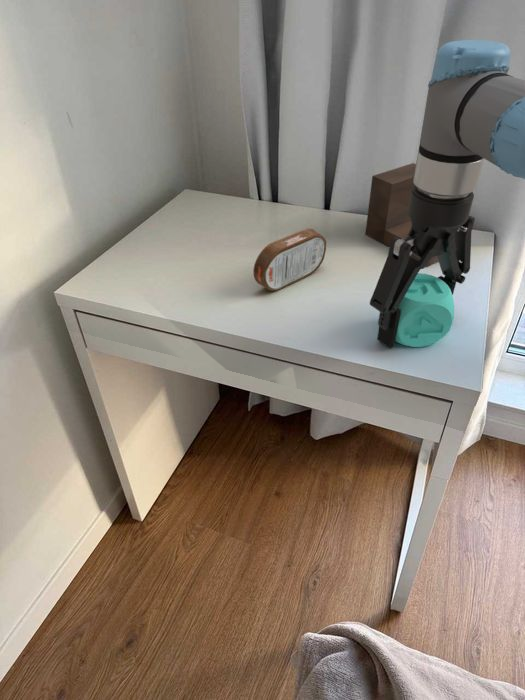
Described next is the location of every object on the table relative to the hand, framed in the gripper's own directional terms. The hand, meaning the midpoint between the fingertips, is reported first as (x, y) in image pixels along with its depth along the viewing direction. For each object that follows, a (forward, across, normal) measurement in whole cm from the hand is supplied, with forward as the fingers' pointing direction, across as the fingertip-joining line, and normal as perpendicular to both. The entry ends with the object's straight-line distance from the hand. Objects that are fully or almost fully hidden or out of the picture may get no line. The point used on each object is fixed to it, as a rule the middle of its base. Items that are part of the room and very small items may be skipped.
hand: (412, 328), depth 76 cm
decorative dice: (+1, 0, 0) cm, 1 cm away
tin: (+1, +6, -22) cm, 23 cm away
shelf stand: (0, -22, -19) cm, 29 cm away
